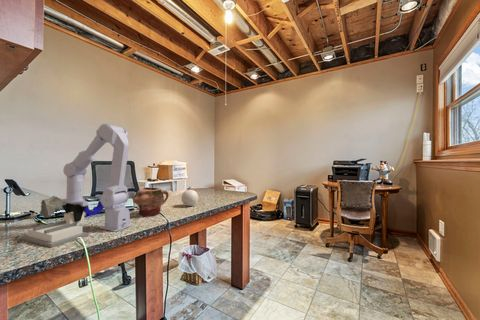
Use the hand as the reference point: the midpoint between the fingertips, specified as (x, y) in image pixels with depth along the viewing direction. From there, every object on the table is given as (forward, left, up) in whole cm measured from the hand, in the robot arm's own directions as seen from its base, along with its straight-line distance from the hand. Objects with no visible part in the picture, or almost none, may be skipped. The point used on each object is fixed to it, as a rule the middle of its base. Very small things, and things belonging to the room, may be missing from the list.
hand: (74, 220), depth 96 cm
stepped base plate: (-11, +13, -1) cm, 17 cm away
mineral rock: (+23, -5, -2) cm, 24 cm away
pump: (0, 0, -1) cm, 1 cm away
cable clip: (+9, -14, -2) cm, 17 cm away
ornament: (-25, -53, -2) cm, 59 cm away
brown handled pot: (-18, -28, -2) cm, 33 cm away
